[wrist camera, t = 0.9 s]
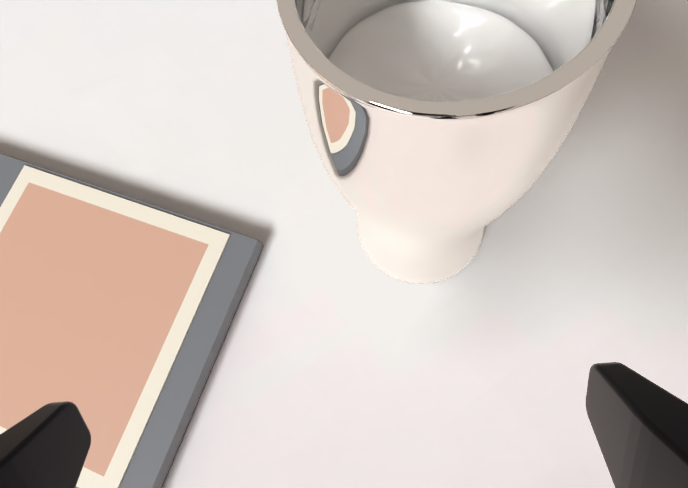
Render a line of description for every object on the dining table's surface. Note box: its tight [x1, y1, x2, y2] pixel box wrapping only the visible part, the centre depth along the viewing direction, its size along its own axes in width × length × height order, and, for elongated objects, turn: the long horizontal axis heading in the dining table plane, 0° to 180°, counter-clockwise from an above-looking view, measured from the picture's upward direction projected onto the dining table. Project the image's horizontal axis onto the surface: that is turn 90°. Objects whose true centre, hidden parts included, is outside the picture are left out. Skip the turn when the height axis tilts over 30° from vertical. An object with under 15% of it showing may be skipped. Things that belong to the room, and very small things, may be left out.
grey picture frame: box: [0, 154, 263, 488], centre depth 23 cm, size 18×16×1 cm
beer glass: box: [276, 0, 636, 284], centre depth 16 cm, size 7×7×15 cm
